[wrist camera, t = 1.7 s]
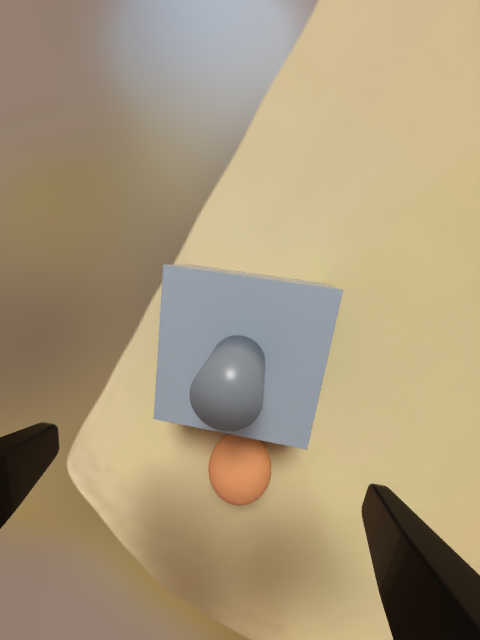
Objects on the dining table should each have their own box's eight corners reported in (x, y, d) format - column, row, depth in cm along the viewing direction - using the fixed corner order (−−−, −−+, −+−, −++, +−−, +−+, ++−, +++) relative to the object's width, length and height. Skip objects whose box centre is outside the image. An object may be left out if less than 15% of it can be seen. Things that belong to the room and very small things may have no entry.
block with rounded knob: (321, 283, 19) (375, 300, 9) (297, 401, 21) (320, 517, 11) (193, 265, 20) (118, 263, 10) (183, 380, 22) (113, 470, 12)
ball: (280, 458, 22) (283, 512, 18) (231, 475, 23) (221, 530, 19) (255, 412, 22) (251, 454, 17) (206, 431, 23) (188, 476, 18)
